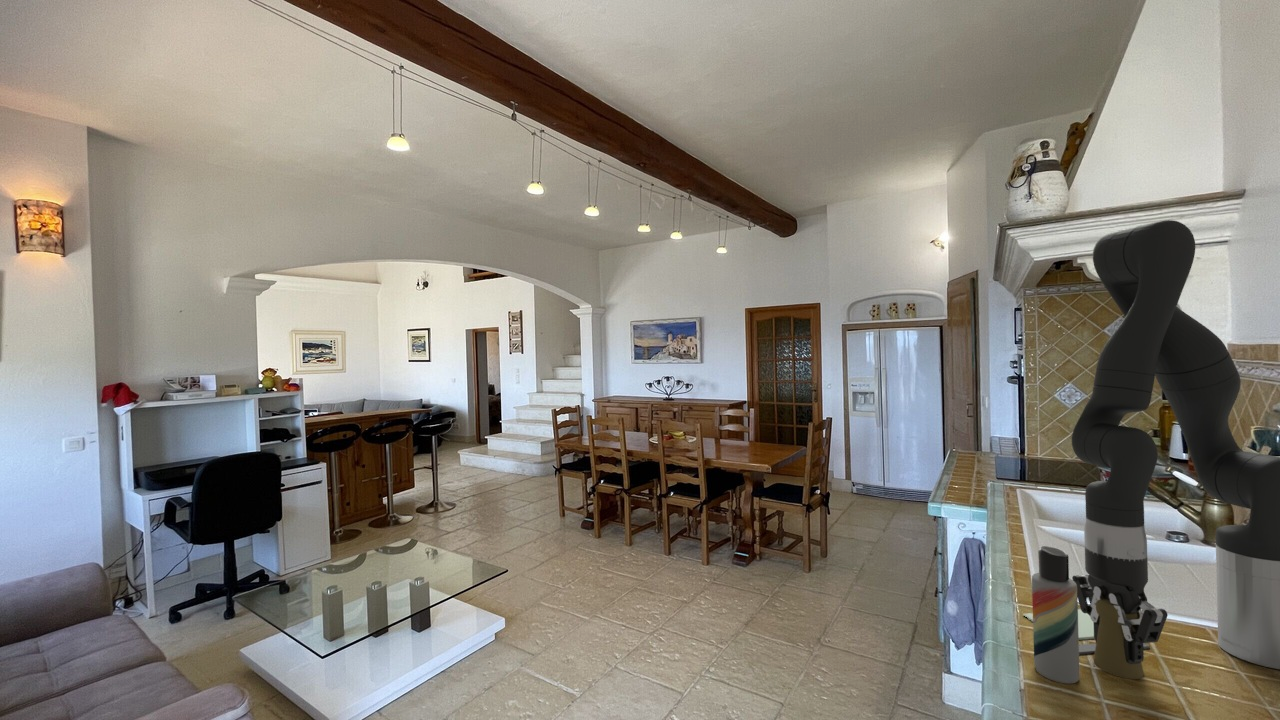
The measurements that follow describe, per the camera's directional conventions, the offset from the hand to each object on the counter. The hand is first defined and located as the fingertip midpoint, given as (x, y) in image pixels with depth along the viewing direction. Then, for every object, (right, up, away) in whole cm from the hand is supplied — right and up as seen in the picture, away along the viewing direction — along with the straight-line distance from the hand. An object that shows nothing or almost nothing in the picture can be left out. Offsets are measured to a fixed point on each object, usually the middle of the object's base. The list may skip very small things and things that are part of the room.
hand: (1117, 653), depth 85 cm
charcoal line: (+2, -2, +5) cm, 6 cm away
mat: (+3, -2, +13) cm, 13 cm away
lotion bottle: (-11, -3, -1) cm, 11 cm away
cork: (0, -2, 0) cm, 2 cm away
